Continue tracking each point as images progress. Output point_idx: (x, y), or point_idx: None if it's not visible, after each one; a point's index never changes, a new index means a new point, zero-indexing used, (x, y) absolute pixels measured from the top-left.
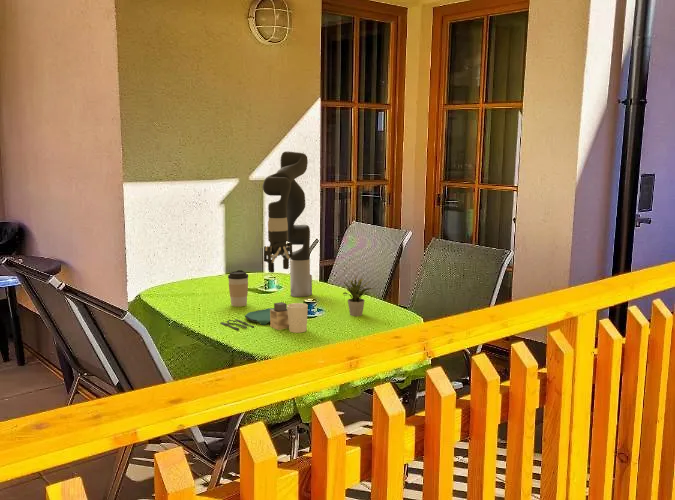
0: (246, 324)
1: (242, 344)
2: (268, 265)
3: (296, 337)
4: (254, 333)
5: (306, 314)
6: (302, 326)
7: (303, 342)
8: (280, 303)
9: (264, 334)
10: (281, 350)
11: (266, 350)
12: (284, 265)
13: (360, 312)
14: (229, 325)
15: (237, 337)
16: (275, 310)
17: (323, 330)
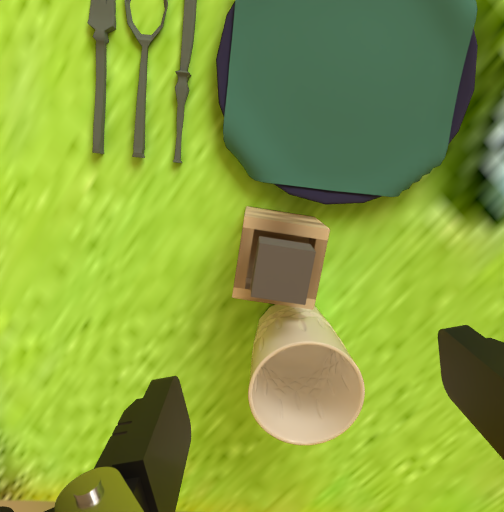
0: (178, 101)
1: (13, 331)
2: (102, 462)
3: (225, 397)
4: (131, 243)
5: (320, 408)
6: (288, 379)
7: (204, 456)
8: (284, 273)
9: (155, 284)
10: None
11: (49, 440)
12: (463, 370)
13: None
14: (97, 61)
15: (43, 241)
16: (270, 230)
17: (364, 398)
